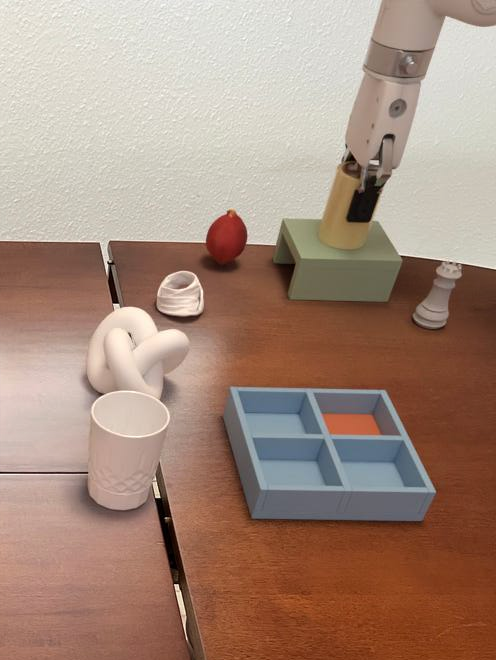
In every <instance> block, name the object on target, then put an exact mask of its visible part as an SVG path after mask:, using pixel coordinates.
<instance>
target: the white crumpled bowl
mask: <svg viewBox="0 0 496 660" xmlns="http://www.w3.org/2000/svg"><path fill="white" fill-rule="evenodd" d="M184 286H187V287H184ZM182 287H184V288H182ZM204 306H205V300H204V290H203V287H202V285H201V282H200V281H199V278H198V277H197V275H196V274H195V273H193V272H192V271H188V270H179V271H176V272H173V273H170V274H168V275H167V276H166V277H165V278H164V279H163V281H162V282H161V283H160V285H159V288H158V290H157V294H156V308H157V310H158V311H159V312H161V313H163V314H165V315H168V316H175V317H188V316H198V315H200V314H202V313H203V312H204Z"/></svg>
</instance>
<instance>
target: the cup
mask: <svg viewBox="0 0 496 660" xmlns="http://www.w3.org/2000/svg"><path fill="white" fill-rule="evenodd" d="M369 164H370V165H375V164H374V163H371V162H369ZM361 170H362V167H361V166H360V164H359V163H358V162H357V161H348V162H343V163H341V162H340V163H339V164H338V165H337V166H336V169H335V173H334V177H333V180H332V183H331V186H330V190H329V194H328V197H327V200H326V204H325V206H324V211H323V214H322V217H321V219H322V220H321V224H320V227H319V231H318V234H317V237H318V239H319V240H320V241H321V242H322V243H324V244H326V245H328V246H330V247H333V248H337V249H344V250H353V249H358V248H361V247H362V246H364V244H365V242H366V239H367V236H368V233H369V230H370V227H371V224H372V221H374V217H375V216H376V212H377V210H378V205H379V203H380V201H381V197H382V194H383V191H384V189H385V185H386V184H385V185H384V186H383V189H382V192H381V193H380V194H379V197H378V200H377V203H376V206H375V209H374V212H373V215H372V218H371V221H370V222H368V223H357V222H348V221H347V220H346V217H347V214H348V210H349V207H350V204H351V201H352V198H353V195H354V191H355V190H358V188H359V182H360V176H361ZM376 172H377V171H369V172H368V178H367V180H368V179H369V178H370V177H371V176H372V175H376Z"/></svg>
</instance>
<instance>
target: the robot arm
mask: <svg viewBox="0 0 496 660" xmlns="http://www.w3.org/2000/svg"><path fill="white" fill-rule="evenodd" d="M446 17H448V18H451V19H454V20H456V21H458V22H462V23H464V24H467V25H471V26H474V27H478V28H479V27H480V28H487V27H488V28H489V27H495V26H496V0H381V2H380V6H379V9H378V13H377V16H376V19H375V23H374V27H373V30H372V33H371V37H370V40H369V43H368V47H367V51H366V54H365V58H364V60H363V64H362V68H361V69H362V71H363V73H364V74H363V77H362V79H361V82H360V85H359V88H358V91H357V94H356V97H355V100H354V102H353V106H352V109H351V112H350V115H349V119H348V122H347V127H346V130H345V135H344V142H345V143H344V144H345V145H344V147H345V151H344V153H343V155H342V157H341V161H340V164H341V163H343V162H348V161H357V162H358V163H359V164H360V166H361V167H362V170H361V176H360V182H359V188H358V190H355V191H354V195H353V198H352V201H351V204H350V207H349V210H348V214H347V217H346V220H347V221H348V222H357V223H368V222H370V221H371V218H372V215H373V212H374V209H375V206H376V203H377V200H378V197H379V194H380V193H381V192H382V189H383V186H384V185H386V183H387V182H388V181H389V180H390V178H391V177H392V174H393V170H396V169H398V168H399V166H400V164H401V161H402V159H403V156H404V152H405V149H406V147H407V143H408V141H409V140H408V139H409V137H410V132H411V129H412V126H413V121H414V118H415V115H416V110H417V106H418V101H419V98H420V91H421V87H422V81H423V80H425V79H426V76H427V72H428V70H429V67H430V65H431V61H432V58H433V56H434V52H435V49H436V46H437V43H438V41H439V37H440V35H441V30H442V29H443V25H444V23H445V19H446ZM371 161H377V162H378V164H374V165H370V164H369V163H371ZM369 171H377V172H376V175H372V176H371V177H370V178H369V179H368V180H367V178H368V172H369ZM384 187H385V186H384ZM383 190H384V189H383ZM382 193H383V192H382Z"/></svg>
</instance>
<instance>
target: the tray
mask: <svg viewBox="0 0 496 660" xmlns="http://www.w3.org/2000/svg"><path fill="white" fill-rule="evenodd" d="M222 419H223V421H224V426H225V429H226V433H227V436H228V439H229V444H230V447H231V450H232V454H233V458H234V462H235V464H236V469H237V472H238V476H239V478H240V479H239V480H240V482H241V487H242V489H243V490H242V491H243V493H244V498H245V500H246V504H247V507H248V511H249V515H250V518H251V519H253V520H254V519H255V520H257V519H259V520H316V521H318V520H320V521H321V520H322V521H324V520H325V521H381V522H382V521H384V522H385V521H386V522H387V521H388V522H422V521H423V520H424V519H425V516H426V514H427V512H428V509H429V508H430V506H431V504H432V502H433V500H434V498H435V496H436V494H437V491H436V488H435V486H434V485H433V482H432V480H431V478H430V477H429V475H428V473H427V471H426V469H425V466H424V464H423V463H422V460H421V459H420V456H419V454H418V452H417V451H416V448H415V447H414V444H413V443H412V442H413V441H412V440H411V439H410V436H409V435H408V432H407V430H406V428H405V426H404V424H403V422H402V421H401V418H400V415H399V414H398V412H397V410H396V408H395V407H394V405H393V402H392V400H391V397H390V396H389V394H388V392H387V391H386V389H359V388H358V389H355V388H353V389H351V388H311V387H309V388H307V387H262V386H261V387H260V386H259V387H257V386H230V387H229V388H228V392H227V396H226V401H225V405H224V409H223V412H222Z"/></svg>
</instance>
